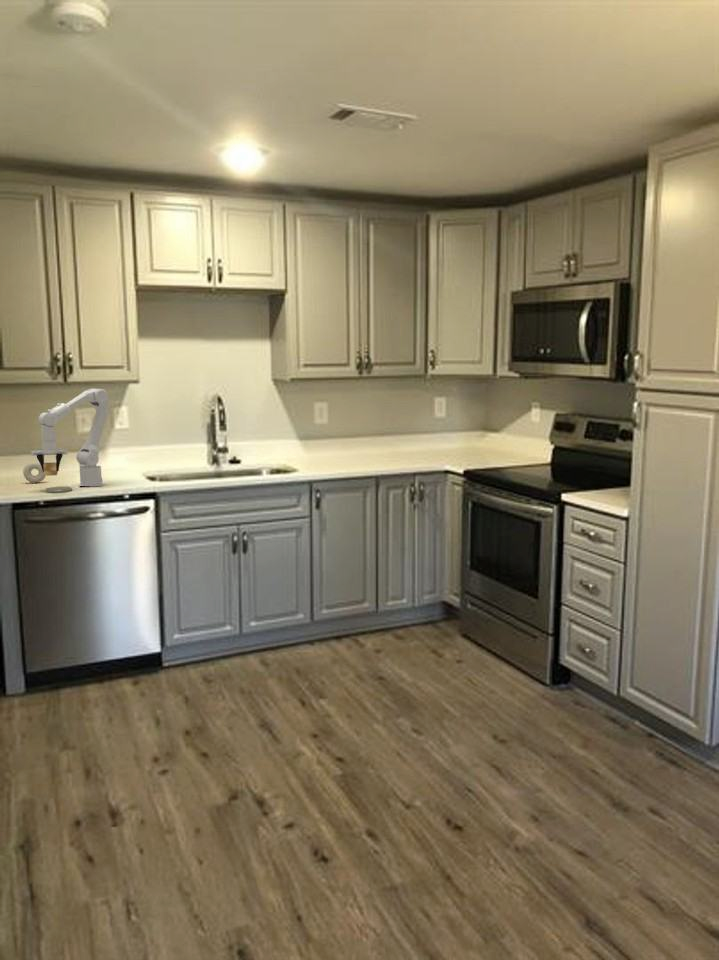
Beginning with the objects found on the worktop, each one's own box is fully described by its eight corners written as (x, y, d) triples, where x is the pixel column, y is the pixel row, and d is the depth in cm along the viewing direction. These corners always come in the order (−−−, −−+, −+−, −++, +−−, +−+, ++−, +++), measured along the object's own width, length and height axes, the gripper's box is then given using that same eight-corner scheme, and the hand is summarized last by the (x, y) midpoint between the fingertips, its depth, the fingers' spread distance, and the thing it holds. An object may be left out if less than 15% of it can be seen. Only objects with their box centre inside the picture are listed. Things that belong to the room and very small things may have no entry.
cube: (57, 473, 349) (56, 462, 349) (56, 475, 345) (55, 463, 344) (45, 474, 348) (44, 462, 347) (44, 475, 343) (43, 464, 342)
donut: (47, 481, 369) (46, 460, 368) (46, 483, 366) (45, 461, 365) (24, 482, 366) (22, 461, 365) (23, 484, 363) (22, 462, 362)
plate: (73, 488, 353) (72, 486, 352) (71, 492, 342) (71, 490, 342) (46, 489, 350) (46, 487, 349) (44, 493, 339) (43, 491, 339)
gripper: (29, 441, 338) (31, 473, 340) (65, 440, 342) (67, 472, 344) (31, 440, 345) (33, 471, 347) (67, 439, 349) (69, 469, 351)
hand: (50, 471), depth 346 cm, fingers closed on cube, 5 cm apart
